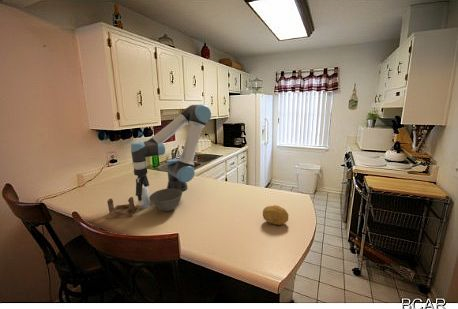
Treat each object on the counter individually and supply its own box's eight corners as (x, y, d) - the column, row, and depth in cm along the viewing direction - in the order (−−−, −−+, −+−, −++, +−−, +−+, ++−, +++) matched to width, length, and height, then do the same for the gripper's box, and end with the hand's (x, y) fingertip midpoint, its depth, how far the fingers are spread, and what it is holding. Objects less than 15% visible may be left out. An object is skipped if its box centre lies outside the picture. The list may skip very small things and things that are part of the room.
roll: (151, 203, 141) (148, 186, 138) (149, 207, 135) (146, 189, 132) (142, 204, 140) (139, 187, 137) (139, 208, 135) (137, 190, 132)
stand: (137, 207, 137) (135, 193, 135) (131, 216, 125) (129, 202, 123) (114, 209, 136) (112, 195, 134) (106, 218, 124) (103, 204, 122)
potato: (286, 213, 104) (289, 203, 112) (259, 210, 110) (264, 200, 118) (287, 230, 107) (290, 219, 115) (261, 226, 112) (265, 215, 120)
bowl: (150, 206, 137) (148, 191, 135) (180, 200, 144) (179, 186, 142) (153, 220, 120) (150, 204, 118) (186, 212, 127) (185, 197, 125)
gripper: (139, 162, 143) (143, 192, 148) (126, 174, 119) (131, 209, 124) (151, 162, 144) (154, 192, 149) (140, 173, 120) (145, 208, 125)
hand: (144, 200), depth 136 cm, fingers open, 13 cm apart
